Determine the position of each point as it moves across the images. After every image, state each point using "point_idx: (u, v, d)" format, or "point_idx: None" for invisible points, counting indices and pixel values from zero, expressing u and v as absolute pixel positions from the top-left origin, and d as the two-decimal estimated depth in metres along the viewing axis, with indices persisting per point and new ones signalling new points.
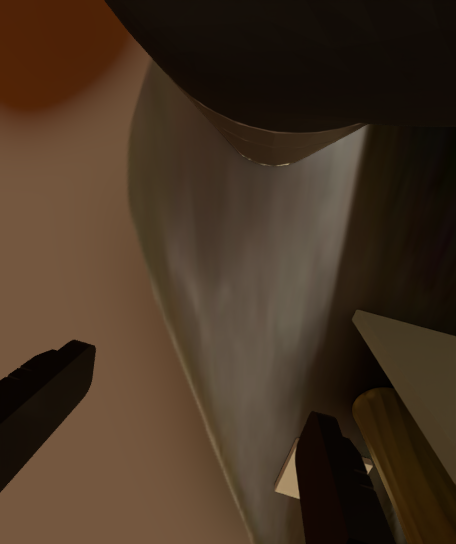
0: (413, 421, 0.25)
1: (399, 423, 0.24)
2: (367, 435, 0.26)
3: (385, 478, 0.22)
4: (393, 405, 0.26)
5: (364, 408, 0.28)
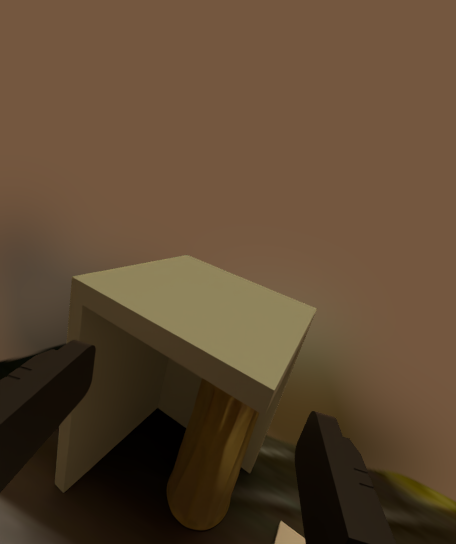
0: None
1: (179, 452, 0.24)
2: (194, 493, 0.21)
3: (208, 459, 0.20)
4: (175, 464, 0.25)
5: (179, 502, 0.23)
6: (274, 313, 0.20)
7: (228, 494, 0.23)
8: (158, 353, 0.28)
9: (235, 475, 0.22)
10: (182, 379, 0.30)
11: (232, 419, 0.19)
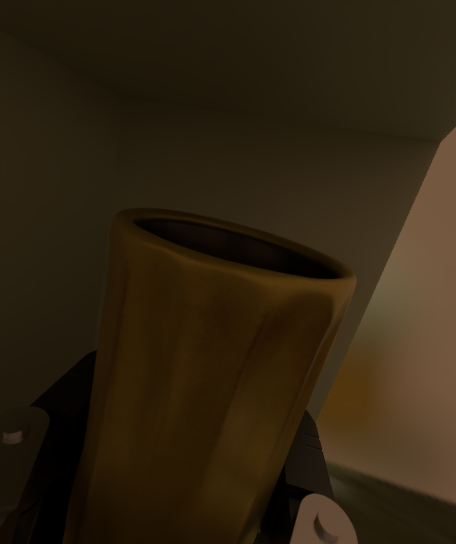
0: None
1: None
2: None
3: None
4: None
5: None
6: None
7: None
8: (64, 277, 0.13)
9: None
10: None
11: (212, 405, 0.04)
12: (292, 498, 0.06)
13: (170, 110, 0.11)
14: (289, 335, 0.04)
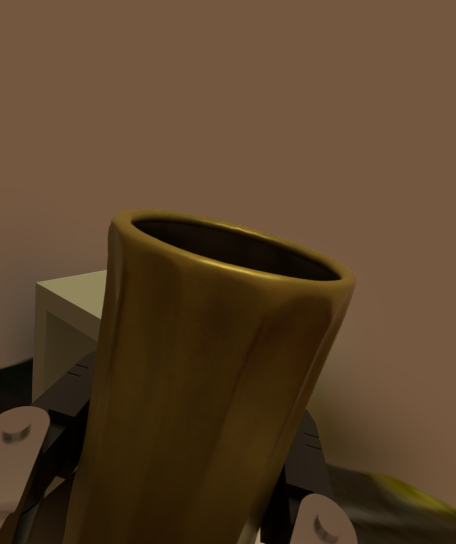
0: None
1: None
2: None
3: None
4: None
5: None
6: None
7: None
8: None
9: None
10: None
11: (211, 408, 0.04)
12: (292, 498, 0.06)
13: None
14: (288, 337, 0.04)
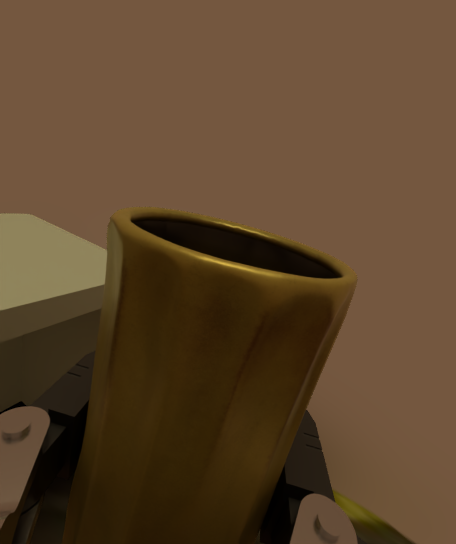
0: None
1: None
2: None
3: None
4: None
5: None
6: (61, 270, 0.15)
7: None
8: None
9: None
10: (37, 366, 0.25)
11: (211, 407, 0.04)
12: (292, 498, 0.06)
13: None
14: (289, 336, 0.04)
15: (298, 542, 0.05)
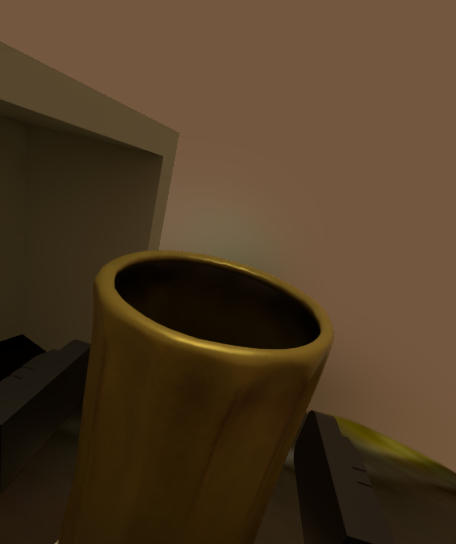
0: None
1: None
2: None
3: None
4: None
5: None
6: None
7: None
8: None
9: None
10: (40, 285, 0.22)
11: (189, 470, 0.04)
12: None
13: (52, 133, 0.19)
14: (263, 403, 0.04)
15: None
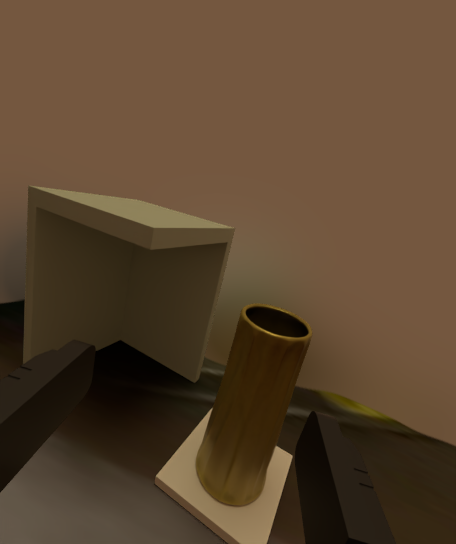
0: None
1: (210, 420, 0.22)
2: (231, 461, 0.19)
3: (247, 418, 0.18)
4: (205, 436, 0.22)
5: (212, 474, 0.20)
6: (191, 221, 0.25)
7: (267, 463, 0.20)
8: (115, 282, 0.33)
9: (275, 440, 0.20)
10: (138, 308, 0.35)
11: (275, 368, 0.17)
12: None
13: None
14: (293, 351, 0.17)
15: None
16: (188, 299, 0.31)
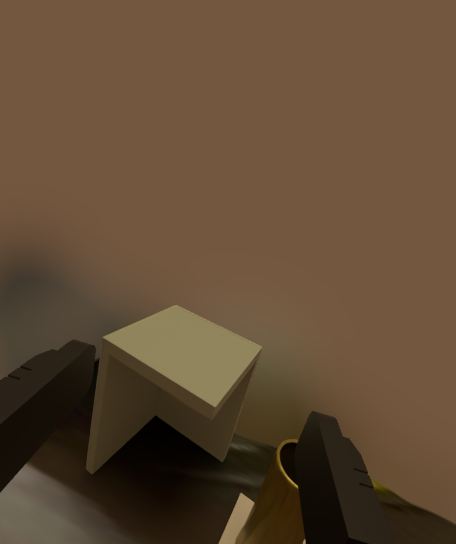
0: (249, 515, 0.29)
1: (247, 527, 0.28)
2: None
3: (280, 542, 0.24)
4: (241, 535, 0.28)
5: None
6: (230, 354, 0.31)
7: None
8: None
9: None
10: None
11: None
12: None
13: None
14: None
15: None
16: None
